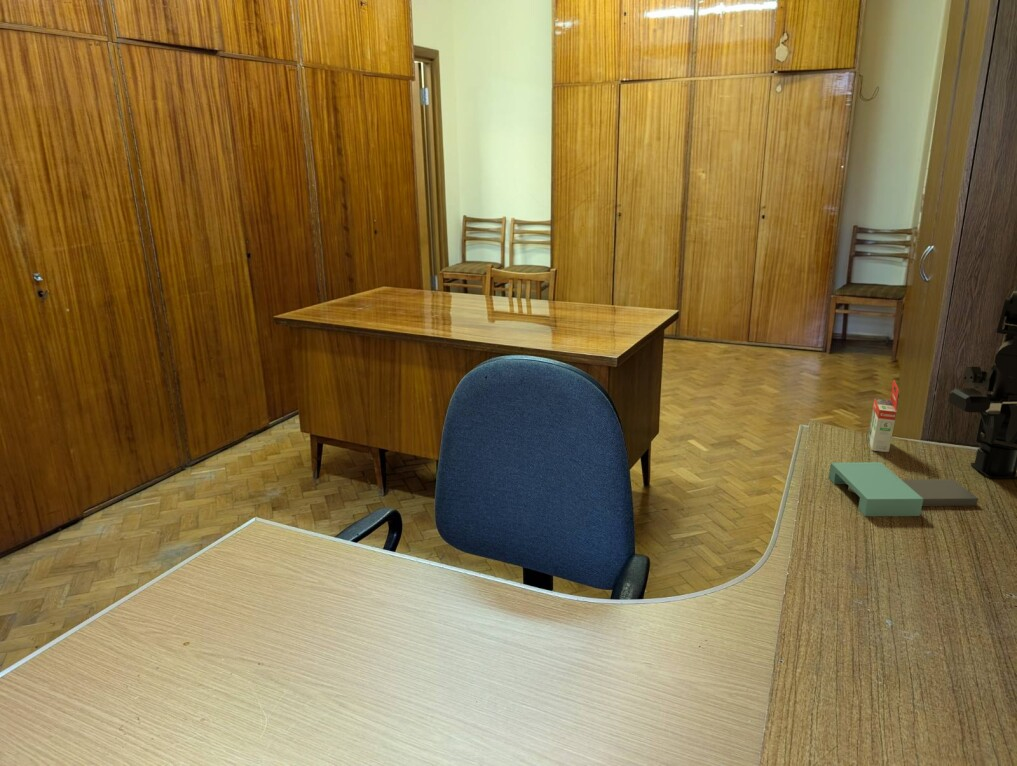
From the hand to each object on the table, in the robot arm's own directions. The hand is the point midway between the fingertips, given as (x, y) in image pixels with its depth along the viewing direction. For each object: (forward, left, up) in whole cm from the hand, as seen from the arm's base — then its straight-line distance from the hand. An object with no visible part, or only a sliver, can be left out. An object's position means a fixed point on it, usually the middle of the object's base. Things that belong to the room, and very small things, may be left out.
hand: (999, 442), depth 128 cm
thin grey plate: (+10, 0, -11) cm, 15 cm away
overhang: (+22, 0, -11) cm, 25 cm away
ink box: (+9, -24, -11) cm, 28 cm away
